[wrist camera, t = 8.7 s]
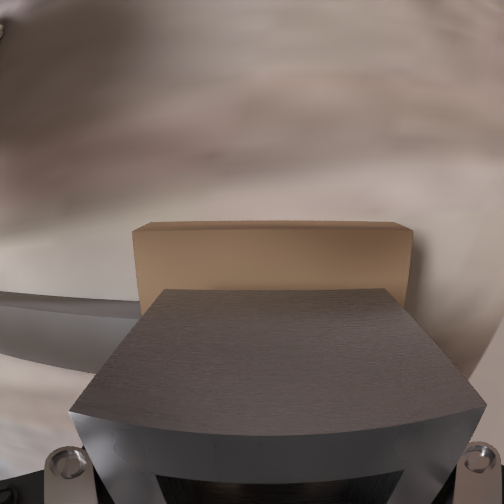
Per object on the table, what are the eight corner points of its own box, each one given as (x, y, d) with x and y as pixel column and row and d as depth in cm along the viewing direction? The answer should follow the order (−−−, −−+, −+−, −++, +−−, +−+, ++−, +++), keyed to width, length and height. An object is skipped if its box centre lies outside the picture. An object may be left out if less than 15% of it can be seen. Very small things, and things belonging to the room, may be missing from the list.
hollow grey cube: (164, 289, 10) (68, 410, 4) (385, 288, 10) (487, 404, 4) (187, 442, 12) (155, 561, 6) (354, 441, 11) (385, 559, 6)
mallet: (-64, 234, 14) (-121, 255, 8) (392, 221, 13) (465, 255, 7) (-30, 366, 16) (-72, 402, 11) (364, 411, 15) (392, 489, 10)
